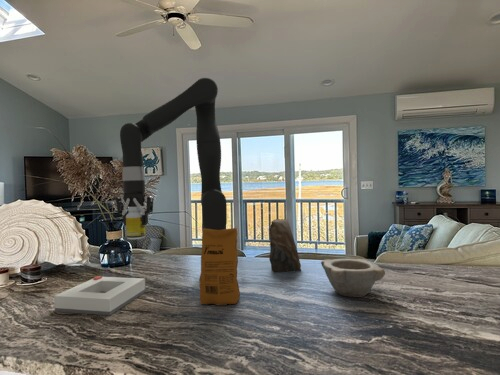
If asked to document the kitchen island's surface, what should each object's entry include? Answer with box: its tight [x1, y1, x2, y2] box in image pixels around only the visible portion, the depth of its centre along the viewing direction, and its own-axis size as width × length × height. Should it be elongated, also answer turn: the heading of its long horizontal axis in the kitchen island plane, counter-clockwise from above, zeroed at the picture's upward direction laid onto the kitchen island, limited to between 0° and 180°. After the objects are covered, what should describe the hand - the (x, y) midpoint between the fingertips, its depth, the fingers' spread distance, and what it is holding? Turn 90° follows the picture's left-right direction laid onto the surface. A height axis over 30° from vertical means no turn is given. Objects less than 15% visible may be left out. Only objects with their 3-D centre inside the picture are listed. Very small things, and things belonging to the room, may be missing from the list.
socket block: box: [53, 275, 146, 316], centre depth 94 cm, size 18×18×5 cm
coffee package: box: [199, 227, 241, 306], centre depth 92 cm, size 10×12×22 cm
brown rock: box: [268, 217, 302, 274], centre depth 125 cm, size 13×13×20 cm
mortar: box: [320, 258, 386, 298], centre depth 96 cm, size 17×17×9 cm
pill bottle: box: [125, 207, 147, 240], centre depth 110 cm, size 6×6×12 cm
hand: (135, 225), depth 110 cm, fingers closed on pill bottle, 6 cm apart
